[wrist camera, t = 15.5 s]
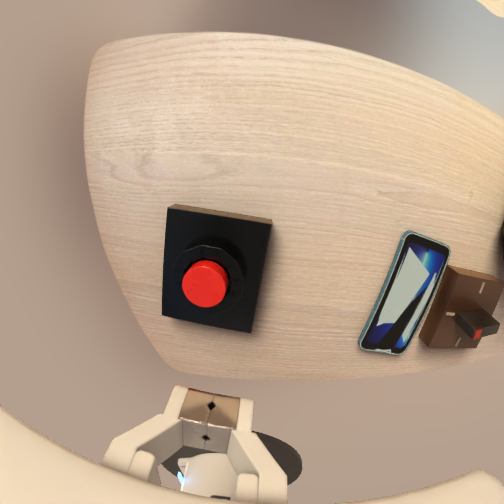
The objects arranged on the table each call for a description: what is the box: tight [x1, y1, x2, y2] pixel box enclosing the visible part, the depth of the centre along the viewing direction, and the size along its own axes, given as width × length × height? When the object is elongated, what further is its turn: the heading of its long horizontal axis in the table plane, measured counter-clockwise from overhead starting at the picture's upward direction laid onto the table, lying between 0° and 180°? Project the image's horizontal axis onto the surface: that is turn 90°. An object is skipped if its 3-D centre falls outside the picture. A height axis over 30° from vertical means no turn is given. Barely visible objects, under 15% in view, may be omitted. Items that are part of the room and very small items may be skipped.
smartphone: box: [358, 231, 450, 355], centre depth 29 cm, size 7×1×15 cm
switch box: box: [162, 204, 272, 333], centre depth 28 cm, size 12×10×4 cm
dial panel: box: [419, 265, 504, 348], centre depth 28 cm, size 10×10×3 cm
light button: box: [182, 260, 228, 307], centre depth 26 cm, size 4×4×2 cm
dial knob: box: [456, 309, 500, 339], centre depth 24 cm, size 5×1×4 cm, turn 91°
